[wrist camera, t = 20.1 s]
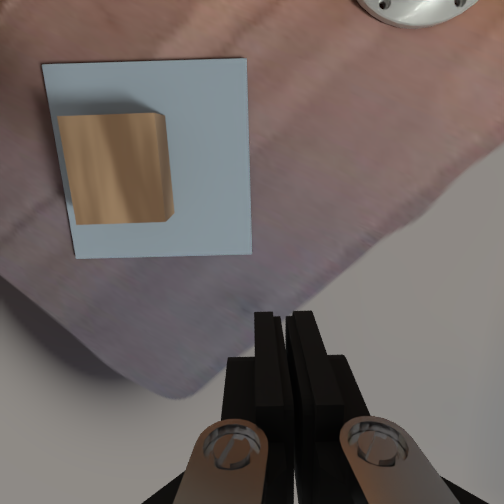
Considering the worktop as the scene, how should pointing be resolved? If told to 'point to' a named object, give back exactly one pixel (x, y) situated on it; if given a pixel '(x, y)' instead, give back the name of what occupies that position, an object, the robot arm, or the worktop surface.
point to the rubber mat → (180, 151)
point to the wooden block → (118, 167)
